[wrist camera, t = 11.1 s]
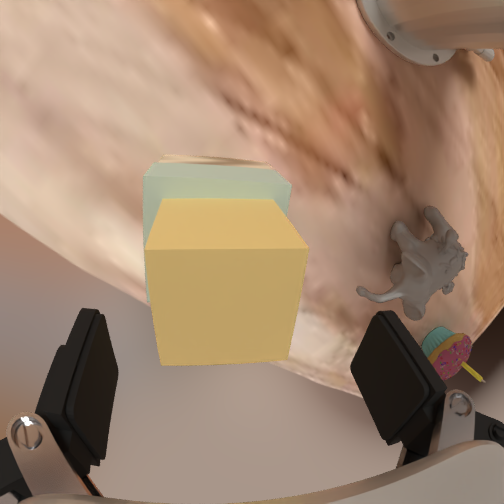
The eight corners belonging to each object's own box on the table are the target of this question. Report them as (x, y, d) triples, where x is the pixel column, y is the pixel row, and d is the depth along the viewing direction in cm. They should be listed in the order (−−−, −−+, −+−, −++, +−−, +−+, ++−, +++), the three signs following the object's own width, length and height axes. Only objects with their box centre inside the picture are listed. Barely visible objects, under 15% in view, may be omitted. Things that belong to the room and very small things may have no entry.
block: (273, 199, 16) (309, 248, 11) (263, 290, 19) (287, 359, 14) (162, 198, 15) (143, 249, 10) (168, 292, 18) (161, 365, 13)
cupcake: (448, 307, 36) (496, 361, 26) (457, 331, 40) (497, 379, 29) (404, 346, 38) (446, 407, 27) (419, 365, 42) (454, 417, 31)
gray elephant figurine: (443, 245, 31) (485, 278, 24) (368, 309, 33) (401, 354, 26) (420, 185, 26) (472, 213, 20) (332, 260, 29) (368, 307, 22)
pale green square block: (275, 170, 20) (292, 185, 16) (259, 273, 23) (270, 304, 20) (154, 162, 18) (143, 176, 15) (154, 270, 22) (147, 302, 18)
